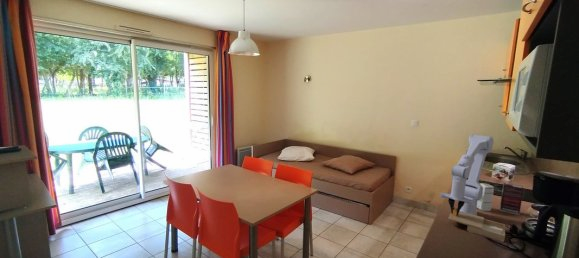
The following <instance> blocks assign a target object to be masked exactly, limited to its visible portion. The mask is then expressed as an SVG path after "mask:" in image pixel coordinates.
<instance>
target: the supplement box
mask: <svg viewBox="0 0 579 258" xmlns="http://www.w3.org/2000/svg"><path fill="white" fill-rule="evenodd" d="M523 194H524V187H523V185H520V184H519V185H518V184H515V183H514V184H513V183H508V182H503V184H502V191H501V198H500V206H499V210H500V212H502V213H503V212H504V213H508V214H513V215H517V216H520V212H521V209H522V208H521V206H522V201H523V200H522V199H523Z"/></svg>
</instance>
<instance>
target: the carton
mask: <svg viewBox="0 0 579 258" xmlns="http://www.w3.org/2000/svg"><path fill="white" fill-rule="evenodd" d="M466 232H468V233H472V234H474V235H475V234H476V235H479V236H483V237H484V238H485V237H486V238H489V239H491V240H496V241H499V242H502V243H504V242H505V238H506V224H504V223H500V222H497V221H494V220H490V219H486V218H484V222H483V227H482V229H479V228H476V227H473V226H469V225H467V228H466Z"/></svg>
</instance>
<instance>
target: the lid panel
mask: <svg viewBox="0 0 579 258" xmlns="http://www.w3.org/2000/svg"><path fill="white" fill-rule="evenodd" d="M457 209H458V207H454V209H453V214H451V212H450V213H449V216H448V217H447V219H448V220H449V221H452V222H455V223H459V224H462V225H466V226H468V225H469V226H473V227H476V228H479V229H482V227H483V222H484V219H485V217H483V216H479V215H473V214H469V213H465V212H461V211H459V214H458V215H457Z"/></svg>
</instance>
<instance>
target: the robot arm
mask: <svg viewBox="0 0 579 258" xmlns="http://www.w3.org/2000/svg"><path fill="white" fill-rule="evenodd" d="M468 145H469V147H468V148H467V150H466V153H465V154H462V156H461V157H460V159H459V160H458V163H457V164H455V165H453V166H452V168H451V173H450V174H451V179H452V182H451V191H450V193H446V192H445V193H444V192H440V198H443V199H448V205H449V207H450V213H451V214H453V209H454V208H455V202H456V201H458V202H457V208H458V209H457V215H458V214H459V211H461V212H465V213H469V214H473V215H476V216H478V215H477V214H478V211H477V209H478V208H477V201H479V200H480V199H481V198H482V195H483V187H482V186H481V185H480V184H479V183H480V182H479V181H480V177H481V174H482V170H483V166H484V163H485V160H486V157H487V154H490V153H491V151H492V149H493V146H494V137H493V136H487V135H486V136H485V135H480V134H473V133H472V134H470V135H469V138H468Z"/></svg>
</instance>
